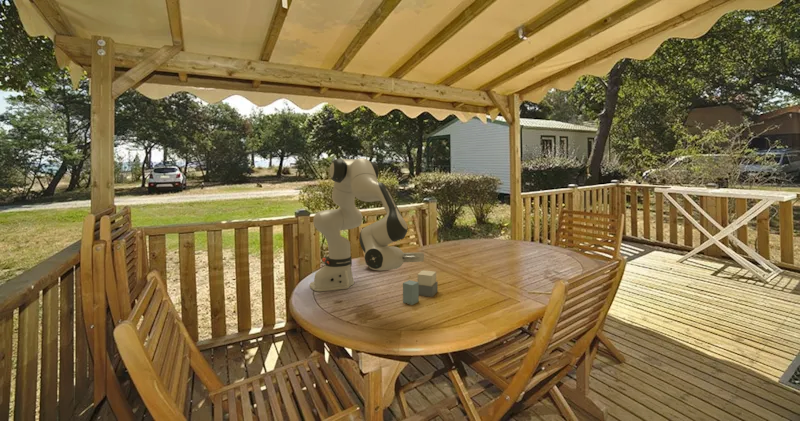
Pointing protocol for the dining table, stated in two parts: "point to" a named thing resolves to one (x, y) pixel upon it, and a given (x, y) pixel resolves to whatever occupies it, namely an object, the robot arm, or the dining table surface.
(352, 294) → the dining table surface
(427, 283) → the tower top
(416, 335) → the dining table surface
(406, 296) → the blue pillar
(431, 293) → the tower base
